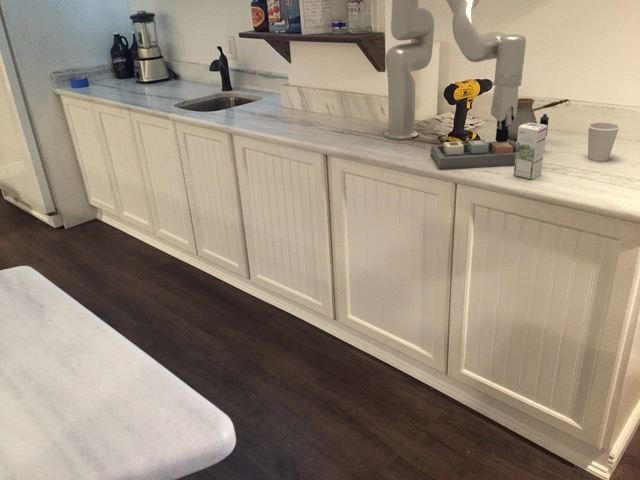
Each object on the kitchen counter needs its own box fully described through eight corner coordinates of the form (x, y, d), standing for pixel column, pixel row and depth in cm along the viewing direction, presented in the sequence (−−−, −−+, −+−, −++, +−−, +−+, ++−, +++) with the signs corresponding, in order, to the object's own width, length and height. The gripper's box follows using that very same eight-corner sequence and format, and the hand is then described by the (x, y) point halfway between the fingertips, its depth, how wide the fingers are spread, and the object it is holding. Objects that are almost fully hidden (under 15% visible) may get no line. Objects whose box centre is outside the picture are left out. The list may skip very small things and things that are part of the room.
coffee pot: (496, 138, 187) (500, 94, 181) (515, 131, 194) (520, 88, 187) (553, 150, 172) (559, 102, 165) (572, 142, 178) (579, 96, 171)
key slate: (467, 148, 169) (468, 140, 167) (483, 147, 168) (484, 139, 167) (471, 153, 164) (472, 144, 163) (488, 152, 164) (488, 143, 163)
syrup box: (541, 174, 153) (548, 124, 146) (531, 180, 149) (537, 129, 143) (523, 170, 157) (528, 121, 150) (512, 176, 153) (517, 125, 147)
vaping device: (543, 153, 169) (548, 115, 164) (526, 151, 172) (530, 114, 167) (545, 151, 171) (550, 113, 166) (529, 149, 174) (533, 112, 169)
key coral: (491, 150, 169) (492, 143, 168) (507, 149, 169) (508, 142, 168) (496, 155, 164) (496, 147, 163) (512, 154, 164) (513, 146, 163)
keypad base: (431, 155, 174) (431, 145, 173) (511, 151, 174) (512, 140, 172) (439, 169, 162) (440, 158, 160) (526, 164, 161) (528, 153, 160)
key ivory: (443, 149, 169) (443, 141, 168) (459, 148, 169) (460, 140, 168) (446, 154, 164) (447, 146, 163) (463, 153, 164) (463, 145, 163)
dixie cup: (604, 164, 157) (610, 131, 153) (577, 158, 163) (582, 126, 159) (619, 158, 161) (625, 125, 157) (592, 152, 167) (597, 120, 163)
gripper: (487, 76, 164) (482, 134, 172) (502, 85, 151) (496, 149, 159) (512, 74, 164) (506, 133, 172) (529, 84, 150) (521, 148, 159)
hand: (501, 141), depth 165 cm, fingers closed
